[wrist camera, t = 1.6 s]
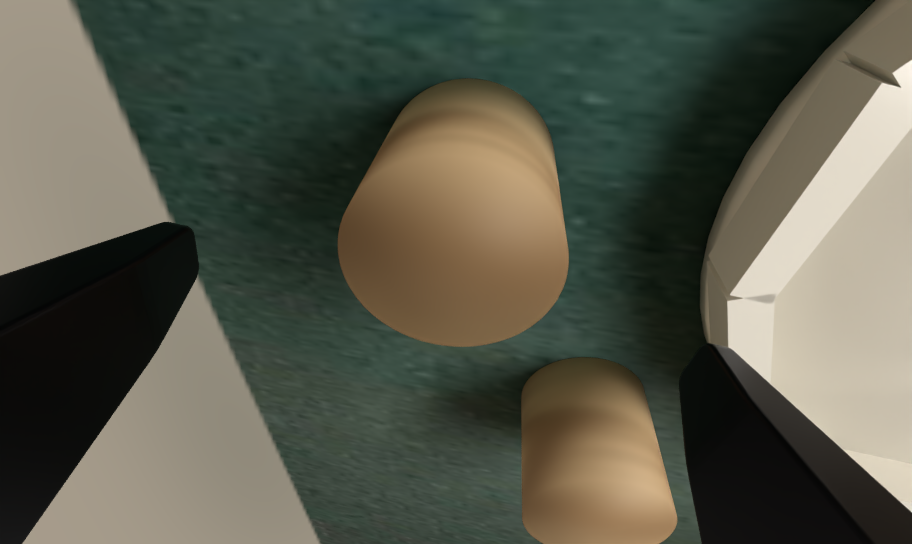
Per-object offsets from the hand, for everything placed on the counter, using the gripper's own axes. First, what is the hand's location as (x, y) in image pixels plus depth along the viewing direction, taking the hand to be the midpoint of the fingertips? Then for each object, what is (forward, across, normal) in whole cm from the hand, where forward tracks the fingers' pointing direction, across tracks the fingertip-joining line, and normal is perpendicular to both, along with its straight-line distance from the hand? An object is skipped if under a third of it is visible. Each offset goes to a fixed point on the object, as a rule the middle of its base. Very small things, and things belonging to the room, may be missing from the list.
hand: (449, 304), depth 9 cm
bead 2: (+6, -6, +8) cm, 11 cm away
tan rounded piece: (+6, 0, 0) cm, 6 cm away
